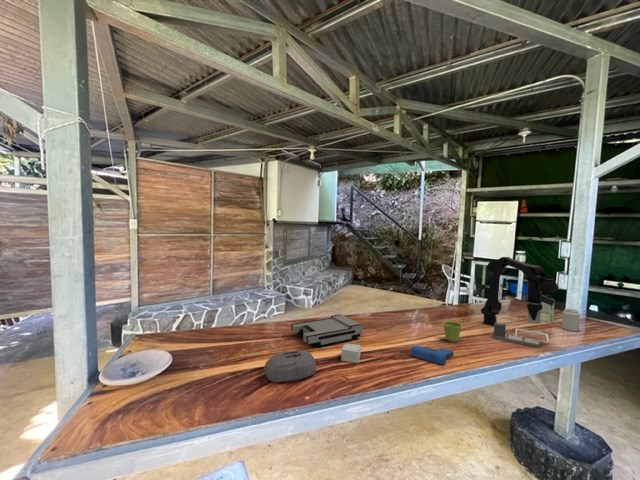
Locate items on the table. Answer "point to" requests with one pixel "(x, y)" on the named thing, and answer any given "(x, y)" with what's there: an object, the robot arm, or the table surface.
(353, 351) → the small box
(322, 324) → the game console
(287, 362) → the small grey backpack
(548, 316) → the green desk organizer
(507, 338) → the strip
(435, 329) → the table surface
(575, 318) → the can
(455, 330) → the plant pot
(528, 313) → the plug
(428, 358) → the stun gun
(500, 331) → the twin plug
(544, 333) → the white square frame
